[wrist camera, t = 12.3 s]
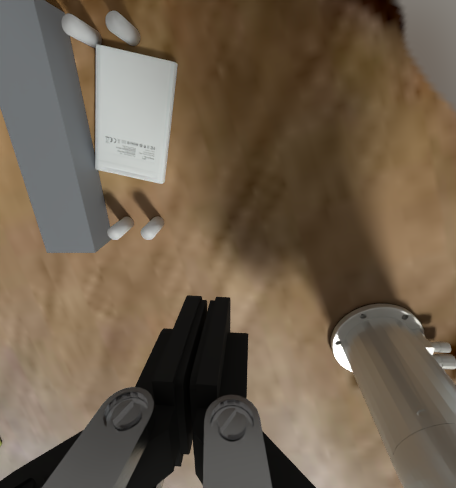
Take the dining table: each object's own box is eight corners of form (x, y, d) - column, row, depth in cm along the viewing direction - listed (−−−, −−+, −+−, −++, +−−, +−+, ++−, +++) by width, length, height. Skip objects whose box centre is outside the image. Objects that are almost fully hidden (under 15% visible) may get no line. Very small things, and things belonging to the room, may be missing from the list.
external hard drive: (179, 65, 29) (165, 182, 33) (102, 47, 28) (100, 167, 33) (175, 61, 27) (162, 184, 32) (94, 43, 27) (93, 169, 32)
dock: (136, 8, 26) (116, -14, 22) (166, 238, 36) (155, 252, 32) (7, 16, 27) (-36, -4, 23) (69, 238, 37) (47, 252, 33)
